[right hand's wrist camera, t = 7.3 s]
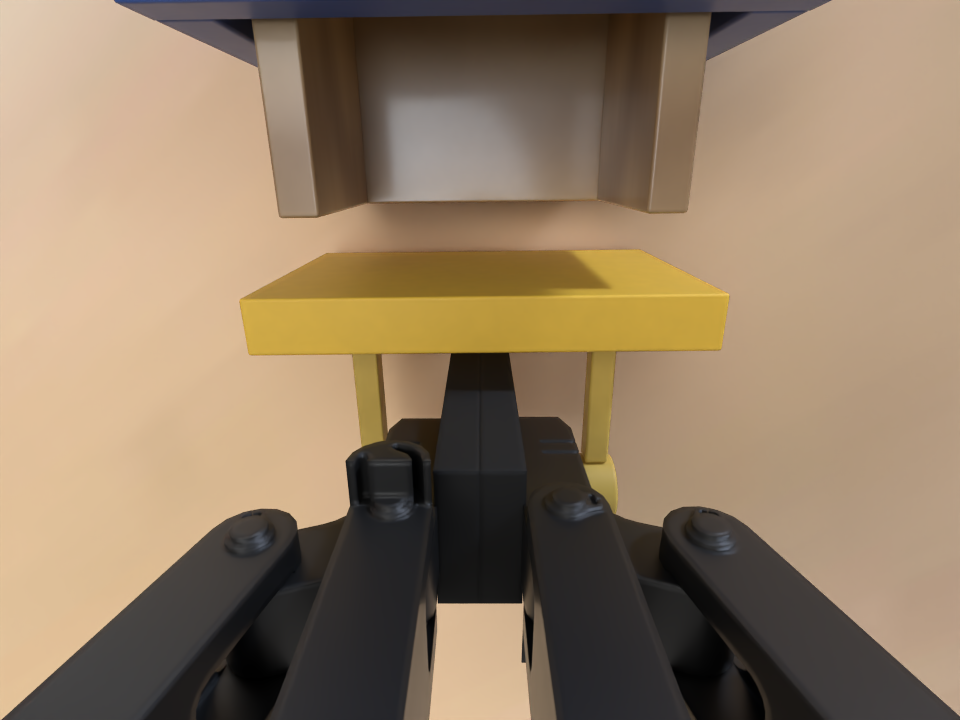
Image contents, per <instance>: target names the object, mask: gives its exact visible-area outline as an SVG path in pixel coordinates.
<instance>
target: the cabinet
mask: <svg viewBox="0 0 960 720" xmlns="http://www.w3.org/2000/svg"><path fill="white" fill-rule="evenodd" d="M114 1H115V2H116V3H118V4H120V5H122V6H124V7H126V8H129V9H131V10H133V11H135V12H137V13H139V14H142V15H144V16H146V17H148V18H150V19H153V20H157V21H158V22H160V23H162V24H165V25H167V26H169V27H171V28H173V29H175V30H178V31H180V32H182V33H184V34H186V35H188V36H191V37H193V38H195V39H197V40H199V41H201V42H204V43H206V44H208V45H210V46H212V47H215V48H217V49H219V50H221V51H223V52H225V53H228V54H230V55H232V56H234V57H236V58H238V59H241V60H243V61H245V62H247V63H249V64H251V65H254V66H256V67H258V63H257V56H256V49H255V41H254V34H253V27H252V20H251V19H271V18H338V17H405V16H472V15H539V14H607V13H674V12H712V13H711V22H710V30H709V38H708V46H707V55H706V61H707V60H709V59H711V58H713V57H715V56H717V55H719V54H721V53H723V52H725V51H727V50H729V49H731V48H733V47H735V46H737V45H739V44H741V43H743V42H745V41H748V40H750V39H752V38H754V37H756V36H758V35H760V34H762V33H764V32H766V31H768V30H770V29H772V28H774V27H776V26H778V25H780V24H782V23H784V22H786V21H788V20H791V19H793V18H795V17H797V16H799V15H801V14H803V13H805V12H807V11H808V10H812V9H815V8H817V7H819V6H821V5H823V4H825V3H827V2H829V1H831V0H114Z"/></svg>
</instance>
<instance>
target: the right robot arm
mask: <svg viewBox="0 0 960 720" xmlns="http://www.w3.org/2000/svg"><path fill="white" fill-rule="evenodd" d="M346 469H347V479H348V488H349V498H350V508H349V510H348V513H347V516H345V517H342V518H340V519H338V520H336V521H333V522H329V523H326V524H322V525H317V526H313V527H308V528H303V529H299V530H298V529H297V522H296V520H295V519H294V518H293V517H292V516H291V515H290V514H289V513H287V512H284V511H281V510H278V509H258V510H253V511H252V510H251V511H247V512H243V513H241V514H238V515H236V516H233V517H231V518H229V519H226V520H225V521H224V522H222V523H221V524H219V525H218V526H216V527H215V528H213V529H212V530H211V531H210V532H209V533H208V534H207V535H205V536H204V537H203V538H202V539H201V540H200V541H199V542H198V543H197V544H195V545H194V546H193V547H192V548H191V549H190V550H189V551H188V552H187V553H186V554H184V555H183V556H182V557H181V558H180V559H179V560H178V561H177V562H176V563H174V564H173V565H172V566H171V567H170V568H169V569H168V570H167V571H166V572H164V573H163V574H162V575H161V576H160V577H159V578H158V579H157V580H156V581H155V582H153V583H152V584H151V585H150V586H149V587H148V588H147V589H146V590H145V591H143V592H142V593H141V594H140V595H139V596H138V597H137V598H136V599H135V600H134V601H132V602H131V603H130V604H129V605H128V606H127V607H126V608H125V609H124V610H122V611H121V612H120V613H119V614H118V615H117V616H116V617H115V618H114V619H112V620H111V621H110V622H109V623H108V624H107V625H106V626H105V627H104V628H103V629H101V630H100V631H99V632H98V633H97V634H96V635H95V636H94V637H93V638H91V639H90V640H89V641H88V642H87V643H86V644H85V645H84V646H83V647H82V648H80V649H79V650H78V651H77V652H76V653H75V654H74V655H73V656H72V657H70V658H69V659H68V660H67V661H66V662H65V663H64V664H63V665H62V666H60V667H59V668H58V669H57V670H56V671H55V672H54V673H53V674H52V675H51V676H49V677H48V678H47V679H46V680H45V681H44V682H43V683H42V684H41V685H39V686H38V687H37V688H36V689H35V690H34V691H33V692H32V693H31V694H30V695H28V696H27V697H26V698H25V699H24V700H23V701H22V702H21V703H20V704H18V705H17V706H16V707H15V708H14V709H13V710H12V711H11V712H10V713H8V714H7V715H6V716H5V717H4V718H3V719H2V720H429V714H430V703H431V692H432V681H433V670H434V658H435V647H436V636H437V613H436V604H437V593H438V603H522V593H523V601H524V613H523V639H522V663H526V669H527V680H528V691H529V702H530V714H531V720H960V716H959V715H957V714H956V713H955V712H954V711H953V710H952V709H951V708H950V707H949V706H947V705H946V704H945V703H944V702H943V701H942V700H941V699H940V698H939V697H937V696H936V695H935V694H934V693H933V692H932V691H931V690H930V689H928V688H927V687H926V686H925V685H924V684H923V683H922V682H921V681H920V680H918V679H917V678H916V677H915V676H914V675H913V674H912V673H911V672H910V671H908V670H907V669H906V668H905V667H904V666H903V665H902V664H901V663H899V662H898V661H897V660H896V659H895V658H894V657H893V656H892V655H891V654H889V653H888V652H887V651H886V650H885V649H884V648H883V647H882V646H881V645H879V644H878V643H877V642H876V641H875V640H874V639H873V638H872V637H870V636H869V635H868V634H867V633H866V632H865V631H864V630H863V629H862V628H860V627H859V626H858V625H857V624H856V623H855V622H854V621H853V620H852V619H850V618H849V617H848V616H847V615H846V614H845V613H844V612H843V611H841V610H840V609H839V608H838V607H837V606H836V605H835V604H834V603H833V602H831V601H830V600H829V599H828V598H827V597H826V596H825V595H824V594H823V593H821V592H820V591H819V590H818V589H817V588H816V587H815V586H814V585H812V584H811V583H810V582H809V581H808V580H807V579H806V578H805V577H804V576H802V575H801V574H800V573H799V572H798V571H797V570H796V569H795V568H794V567H792V566H791V565H790V564H789V563H788V562H787V561H786V560H785V559H783V558H782V557H781V556H780V555H779V554H778V553H777V552H776V551H775V550H773V549H772V548H771V547H770V546H769V545H768V544H767V543H766V542H765V541H763V540H762V539H761V538H760V537H759V536H758V535H757V534H756V533H754V532H753V531H752V530H751V529H750V528H749V527H748V526H746V525H745V524H743V523H742V522H740V521H739V520H738V519H736V518H735V517H733V516H730V515H728V514H725V513H723V512H721V511H718V510H714V509H710V508H705V507H682V508H679V509H676V510H673V511H671V512H670V513H669V514H668V515H667V516H666V517H665V518H664V522H663V528H662V527H658V526H653V525H648V524H644V523H639V522H635V521H632V520H628V519H625V518H622V517H620V516H618V515H616V514H614V513H613V512H612V510H611V507H610V505H609V503H608V502H607V500H606V499H605V497H604V496H603V495H602V494H600V493H599V492H597V491H596V490H594V489H593V488H591V485H590V482H589V479H588V476H587V473H586V470H585V468H584V465H583V462H582V459H581V456H580V454H579V450H578V447H577V445H576V443H575V439H574V436H573V433H572V430H571V428H570V427H569V426H568V425H567V424H566V423H564V422H563V421H562V420H561V419H560V418H558V417H519V416H518V409H517V403H516V396H515V390H514V384H513V377H512V371H511V364H510V358H509V353H451V358H450V364H449V371H448V377H447V383H446V390H445V396H444V403H443V409H442V416H441V419H401V420H400V421H399V422H398V423H397V424H395V425H394V426H393V427H392V428H391V429H389V432H388V435H387V438H386V441H379V442H375V443H372V444H369V445H365V446H363V447H361V448H360V449H358V450H356V451H354V452H353V453H352V454H351V455H350V456H349V458H348V459H347V460H346Z"/></svg>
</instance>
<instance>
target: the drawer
mask: <svg viewBox="0 0 960 720" xmlns="http://www.w3.org/2000/svg"><path fill="white" fill-rule="evenodd" d="M711 13H712V12H674V13H607V14H539V15H472V16H405V17H338V18H271V19H251V20H252V27H253V34H254V41H255V49H256V56H257V63H258V70H259V77H260V84H261V91H262V98H263V106H264V113H265V120H266V127H267V134H268V141H269V148H270V155H271V162H272V170H273V177H274V184H275V191H276V198H277V205H278V212H279V216H280V217H281V218H318V217H321V216H325V215H328V214H332V213H335V212H339V211H342V210H346V209H349V208H353V207H356V206H359V205H363V204H366V203H441V202H522V201H603V202H607V203H610V204H614V205H618V206H622V207H626V208H630V209H634V210H638V211H642V212H646V213H649V214H651V213H685V212H687V210H688V203H689V195H690V187H691V178H692V170H693V162H694V154H695V145H696V137H697V129H698V121H699V112H700V104H701V96H702V88H703V79H704V71H705V63H706V55H707V46H708V38H709V30H710V22H711ZM728 302H729V294H728V293H726V292H724V291H722V290H720V289H718V288H716V287H714V286H712V285H710V284H708V283H706V282H704V281H702V280H700V279H698V278H696V277H694V276H692V275H690V274H688V273H686V272H684V271H682V270H680V269H678V268H676V267H674V266H672V265H670V264H668V263H666V262H664V261H662V260H660V259H658V258H656V257H654V256H652V255H650V254H648V253H646V252H644V251H642V250H558V251H473V252H388V253H326V254H324V255H322V256H320V257H319V258H317V259H315V260H313V261H311V262H309V263H307V264H305V265H304V266H302V267H300V268H298V269H296V270H294V271H292V272H290V273H289V274H287V275H285V276H283V277H281V278H279V279H277V280H276V281H274V282H272V283H270V284H268V285H266V286H264V287H262V288H261V289H259V290H257V291H255V292H253V293H251V294H249V295H247V296H246V297H244V298H242V299H240V307H241V313H242V319H243V324H244V330H245V336H246V341H247V347H248V353H249V355H331V354H352V357H353V367H354V376H355V386H356V396H357V406H358V415H359V425H360V435H361V445H362V447H363V446H365V445H369V444H372V443H375V442H379V441H386V438H387V435H388V430H387V418H386V406H385V394H384V382H383V369H382V357H381V354H427V353H523V352H587V367H586V383H585V399H584V415H583V430H582V446H581V452H582V453H579V454H580V456H581V459H582V462H583V465H584V468H585V470H586V473H587V476H588V479H589V482H590V485H591V488H593V489H594V490H596V491H597V492H599V493H600V494H602V495H603V496H604V497H605V499H606V500H607V502H608V503H609V505H610V507H611V510H612V512H613V513H614V514H616V510H617V503H618V487H617V477H616V471H615V467H614V463H613V461H612V458H611V456H610V455H609V454H608V444H609V432H610V420H611V408H612V396H613V384H614V372H615V360H616V352H619V351H716V350H721V347H722V341H723V334H724V328H725V322H726V315H727V309H728Z"/></svg>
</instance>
